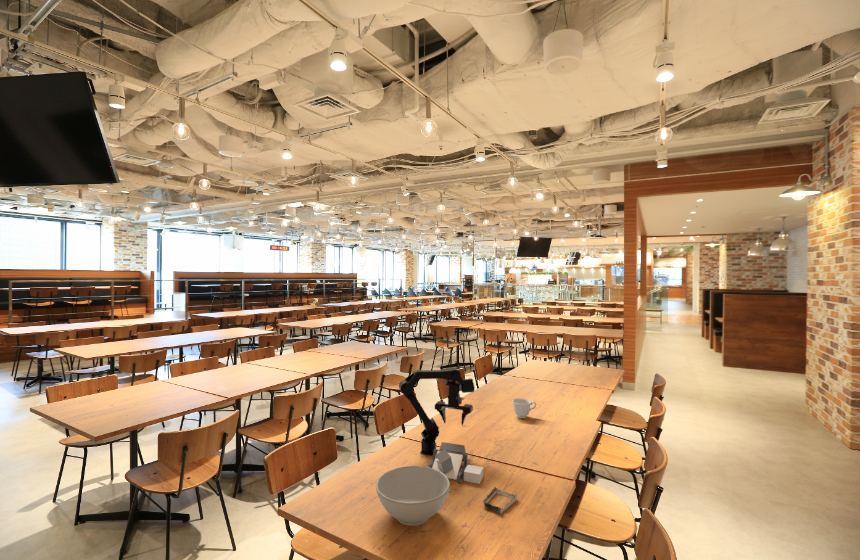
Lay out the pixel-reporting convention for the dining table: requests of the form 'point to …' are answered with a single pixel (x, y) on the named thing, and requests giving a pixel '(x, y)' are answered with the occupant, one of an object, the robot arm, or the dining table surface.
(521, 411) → the teacup
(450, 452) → the trapdoor
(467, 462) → the frame
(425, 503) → the decorative bowl
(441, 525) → the dining table surface
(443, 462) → the stone
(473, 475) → the light grey block
